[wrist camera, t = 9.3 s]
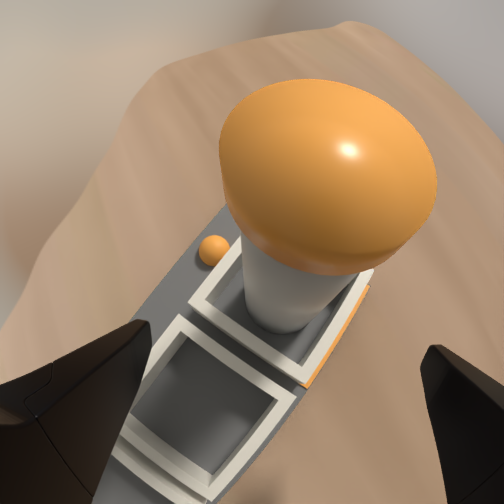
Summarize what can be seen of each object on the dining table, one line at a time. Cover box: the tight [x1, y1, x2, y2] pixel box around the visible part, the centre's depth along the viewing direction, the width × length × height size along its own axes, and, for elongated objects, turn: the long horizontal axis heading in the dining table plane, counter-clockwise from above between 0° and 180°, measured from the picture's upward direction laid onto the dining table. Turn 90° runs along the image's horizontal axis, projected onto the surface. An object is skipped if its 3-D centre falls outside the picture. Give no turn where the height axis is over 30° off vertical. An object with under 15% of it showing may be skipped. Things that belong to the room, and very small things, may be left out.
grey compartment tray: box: [91, 203, 374, 504], centre depth 14 cm, size 22×10×3 cm, turn 145°
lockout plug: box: [219, 79, 437, 334], centre depth 11 cm, size 5×5×12 cm
